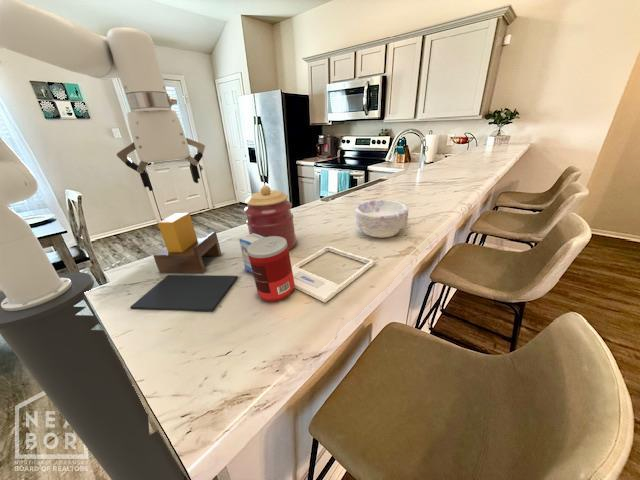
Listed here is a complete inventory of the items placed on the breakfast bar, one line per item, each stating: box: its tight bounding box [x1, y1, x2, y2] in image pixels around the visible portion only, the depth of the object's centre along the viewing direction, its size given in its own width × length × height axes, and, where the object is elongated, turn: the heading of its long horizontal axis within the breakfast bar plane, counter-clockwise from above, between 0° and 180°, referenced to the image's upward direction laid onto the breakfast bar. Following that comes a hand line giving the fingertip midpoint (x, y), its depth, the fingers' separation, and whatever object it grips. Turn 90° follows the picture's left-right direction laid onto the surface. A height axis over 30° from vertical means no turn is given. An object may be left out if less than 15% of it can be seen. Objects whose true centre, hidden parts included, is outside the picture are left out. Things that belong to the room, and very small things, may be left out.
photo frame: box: [291, 245, 375, 304], centre depth 61 cm, size 15×1×18 cm
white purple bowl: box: [354, 199, 409, 239], centre depth 79 cm, size 15×15×8 cm
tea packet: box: [157, 212, 198, 252], centre depth 67 cm, size 4×7×8 cm, turn 173°
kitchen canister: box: [243, 185, 297, 251], centre depth 73 cm, size 13×13×18 cm
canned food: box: [247, 236, 295, 302], centre depth 53 cm, size 8×8×11 cm
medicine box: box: [238, 233, 264, 274], centre depth 62 cm, size 8×4×9 cm, turn 49°
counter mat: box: [129, 274, 238, 313], centre depth 58 cm, size 18×12×1 cm, turn 83°
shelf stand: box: [152, 230, 222, 274], centre depth 69 cm, size 12×10×7 cm
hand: (174, 185), depth 62 cm, fingers open, 9 cm apart
